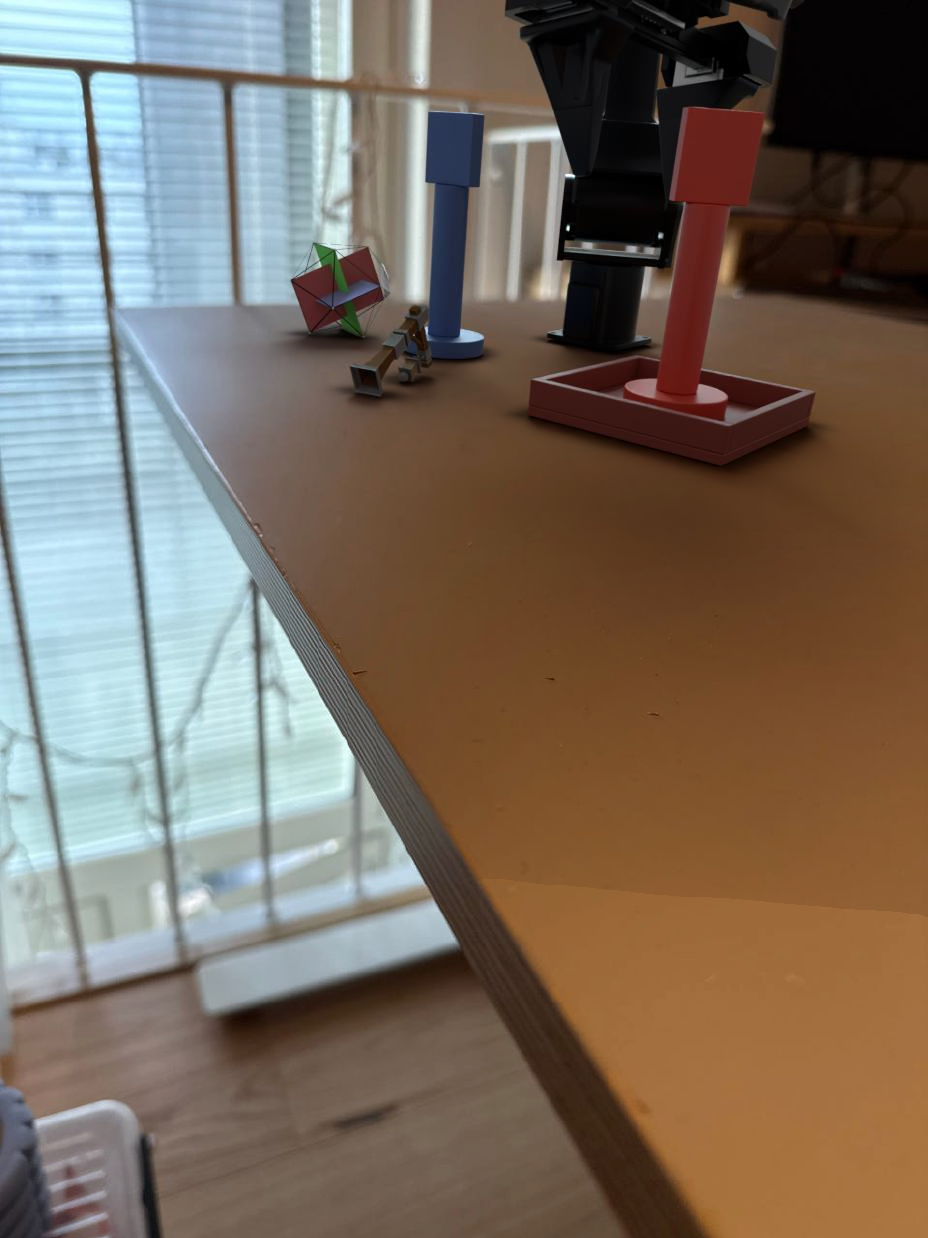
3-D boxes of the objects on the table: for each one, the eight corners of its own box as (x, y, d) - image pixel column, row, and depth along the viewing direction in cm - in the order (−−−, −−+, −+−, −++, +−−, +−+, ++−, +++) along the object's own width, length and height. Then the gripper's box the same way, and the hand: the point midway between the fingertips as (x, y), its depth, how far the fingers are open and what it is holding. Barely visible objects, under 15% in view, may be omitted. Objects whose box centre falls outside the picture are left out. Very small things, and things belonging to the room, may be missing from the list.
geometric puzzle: (289, 313, 66) (352, 218, 66) (257, 297, 72) (315, 209, 71) (361, 370, 71) (421, 282, 70) (326, 351, 76) (382, 269, 76)
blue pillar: (438, 339, 73) (450, 113, 66) (499, 353, 70) (518, 117, 62) (385, 347, 69) (392, 107, 61) (448, 362, 65) (462, 110, 58)
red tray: (631, 386, 63) (636, 354, 62) (808, 426, 56) (816, 391, 55) (527, 415, 54) (530, 378, 53) (721, 466, 47) (729, 426, 46)
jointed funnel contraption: (446, 358, 62) (436, 296, 58) (389, 430, 57) (374, 367, 54) (422, 354, 62) (411, 293, 59) (363, 425, 58) (348, 363, 55)
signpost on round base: (612, 395, 57) (653, 106, 50) (707, 400, 58) (761, 115, 51) (633, 421, 52) (681, 103, 45) (738, 427, 52) (802, 112, 45)
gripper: (700, -257, 40) (649, 146, 44) (883, -90, 52) (829, 210, 57) (512, -173, 47) (484, 163, 52) (712, -45, 60) (676, 216, 64)
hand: (630, 190), depth 56 cm, fingers open, 9 cm apart
